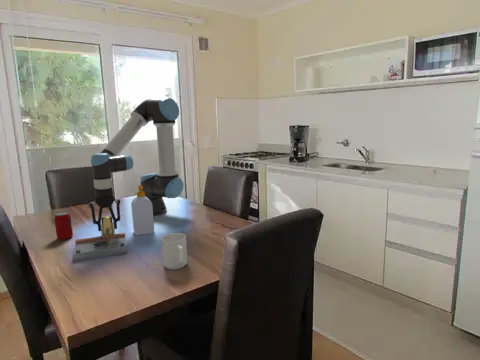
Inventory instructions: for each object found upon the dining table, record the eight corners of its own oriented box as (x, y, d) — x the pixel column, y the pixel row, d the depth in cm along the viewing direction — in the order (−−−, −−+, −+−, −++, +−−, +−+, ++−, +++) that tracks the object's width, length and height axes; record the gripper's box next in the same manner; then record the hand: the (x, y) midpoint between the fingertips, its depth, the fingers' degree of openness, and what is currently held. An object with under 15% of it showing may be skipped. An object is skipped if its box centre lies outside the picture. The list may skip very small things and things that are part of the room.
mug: (160, 263, 126) (158, 236, 123) (182, 258, 130) (180, 231, 128) (170, 276, 115) (168, 246, 113) (194, 269, 120) (192, 240, 118)
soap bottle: (152, 228, 166) (148, 183, 162) (154, 232, 160) (150, 186, 155) (133, 231, 163) (129, 185, 158) (135, 235, 156) (130, 188, 152)
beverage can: (76, 236, 158) (73, 211, 155) (64, 241, 151) (61, 216, 149) (65, 234, 160) (62, 210, 158) (53, 239, 154) (50, 214, 151)
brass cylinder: (113, 235, 157) (111, 215, 155) (113, 238, 153) (111, 217, 151) (103, 237, 156) (101, 216, 154) (103, 240, 152) (101, 219, 150)
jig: (125, 241, 150) (124, 232, 149) (127, 252, 137) (126, 243, 136) (76, 248, 142) (75, 239, 142) (74, 261, 130) (72, 251, 129)
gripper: (123, 184, 156) (127, 231, 161) (82, 188, 150) (88, 236, 155) (124, 187, 150) (128, 236, 154) (81, 191, 143) (87, 242, 148)
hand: (108, 236), depth 154 cm, fingers closed on brass cylinder, 4 cm apart
